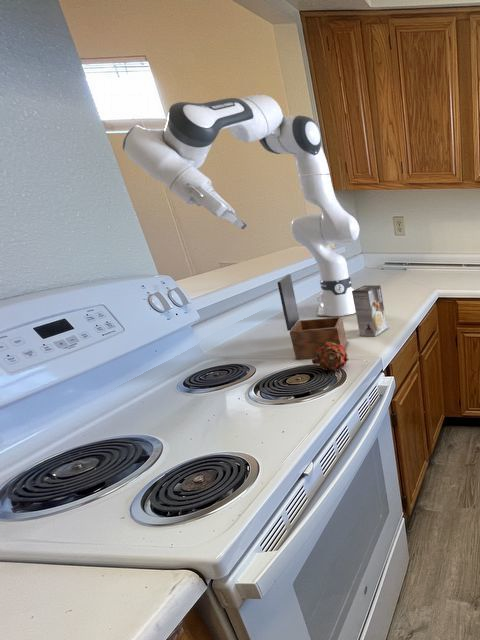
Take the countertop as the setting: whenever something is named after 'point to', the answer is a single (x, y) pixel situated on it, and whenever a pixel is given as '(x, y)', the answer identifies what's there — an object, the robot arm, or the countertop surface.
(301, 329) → the chest
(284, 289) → the lid
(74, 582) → the countertop surface
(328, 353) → the dragon fruit
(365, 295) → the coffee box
